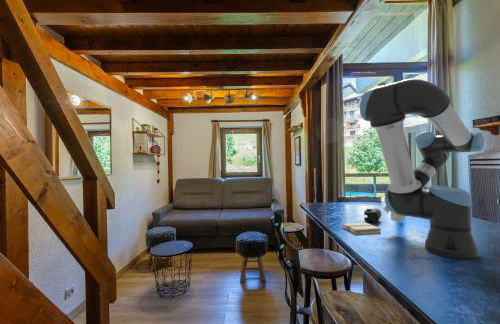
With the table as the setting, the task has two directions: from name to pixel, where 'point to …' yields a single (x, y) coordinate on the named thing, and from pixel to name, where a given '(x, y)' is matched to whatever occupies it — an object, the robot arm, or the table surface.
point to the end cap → (372, 215)
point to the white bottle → (397, 217)
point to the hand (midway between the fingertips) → (389, 211)
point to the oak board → (361, 228)
